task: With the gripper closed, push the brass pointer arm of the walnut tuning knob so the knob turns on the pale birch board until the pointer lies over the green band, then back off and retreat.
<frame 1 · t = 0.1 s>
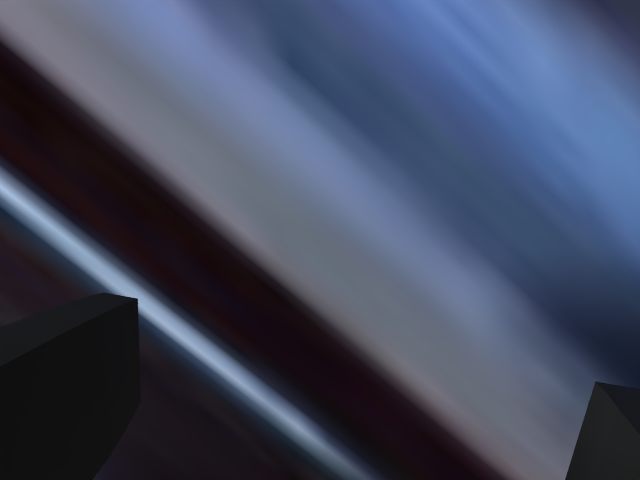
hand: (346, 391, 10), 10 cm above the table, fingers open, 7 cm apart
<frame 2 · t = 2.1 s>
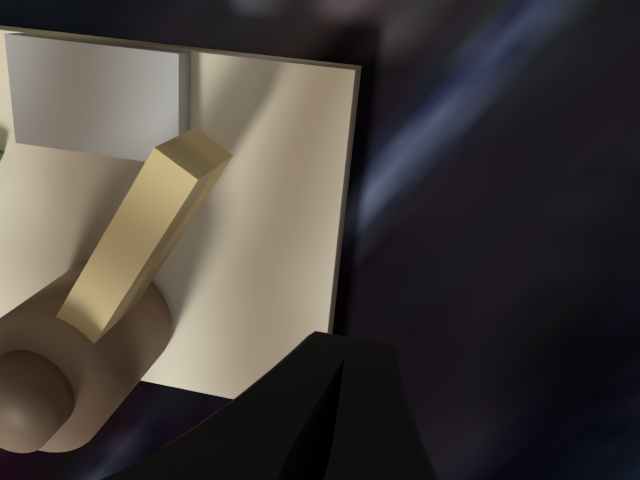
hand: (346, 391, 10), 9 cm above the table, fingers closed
tuning knob: (108, 291, 16), point 4 cm above the table, hinge at 0.0°
tuner board: (117, 212, 20), on the table
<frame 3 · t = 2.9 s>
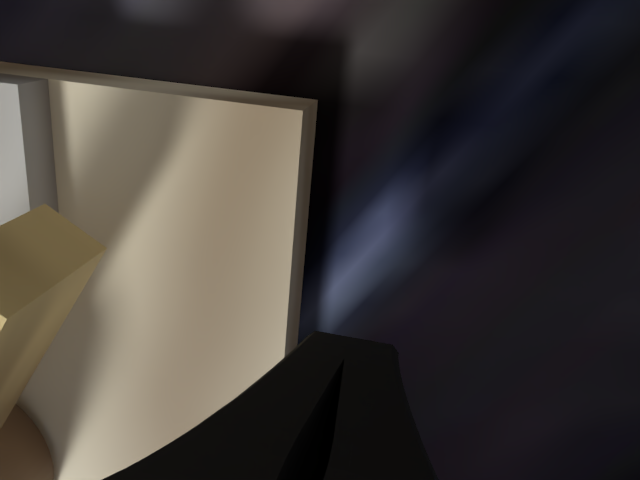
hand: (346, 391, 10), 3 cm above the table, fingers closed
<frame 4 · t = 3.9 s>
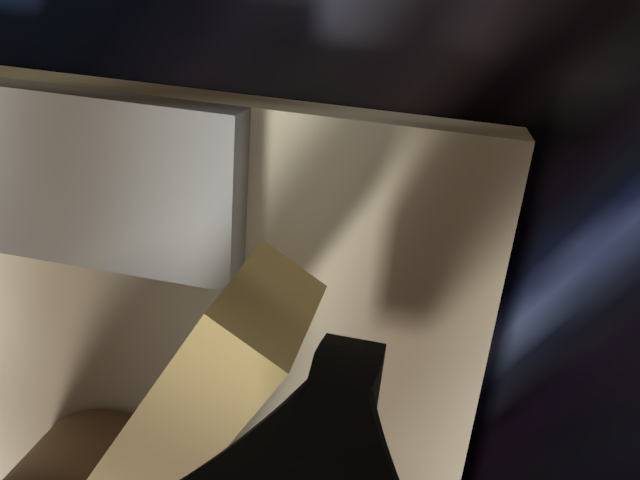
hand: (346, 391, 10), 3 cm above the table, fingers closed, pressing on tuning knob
tuner board: (128, 331, 14), on the table
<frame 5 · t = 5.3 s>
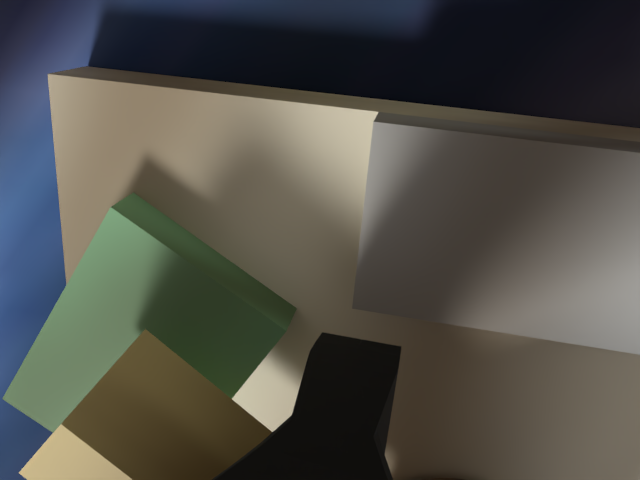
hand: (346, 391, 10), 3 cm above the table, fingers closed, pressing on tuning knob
tuner board: (450, 386, 12), on the table
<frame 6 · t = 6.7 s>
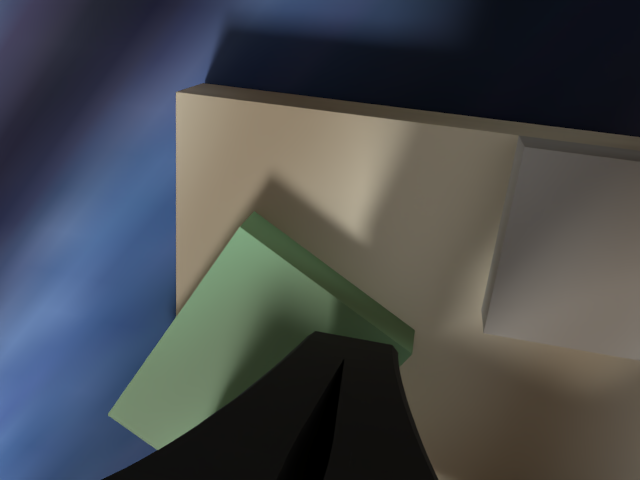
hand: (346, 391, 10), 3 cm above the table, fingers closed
tuner board: (556, 409, 12), on the table
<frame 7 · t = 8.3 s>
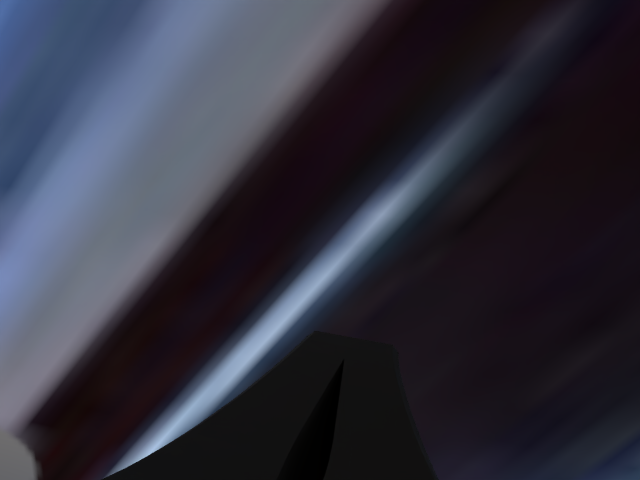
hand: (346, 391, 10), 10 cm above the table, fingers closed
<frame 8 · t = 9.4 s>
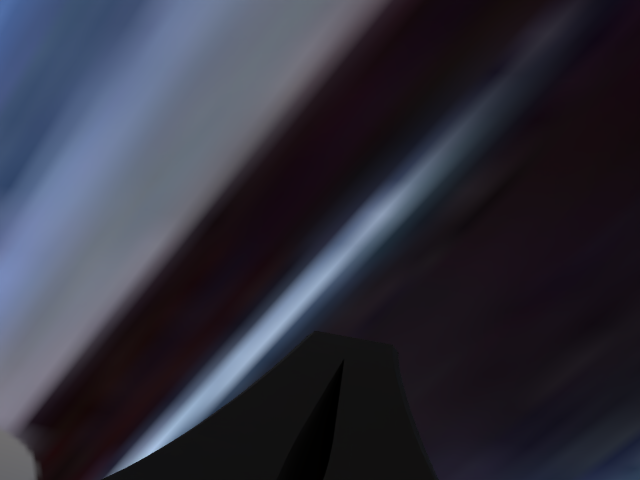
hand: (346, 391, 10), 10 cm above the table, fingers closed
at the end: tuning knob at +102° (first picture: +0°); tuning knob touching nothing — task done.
